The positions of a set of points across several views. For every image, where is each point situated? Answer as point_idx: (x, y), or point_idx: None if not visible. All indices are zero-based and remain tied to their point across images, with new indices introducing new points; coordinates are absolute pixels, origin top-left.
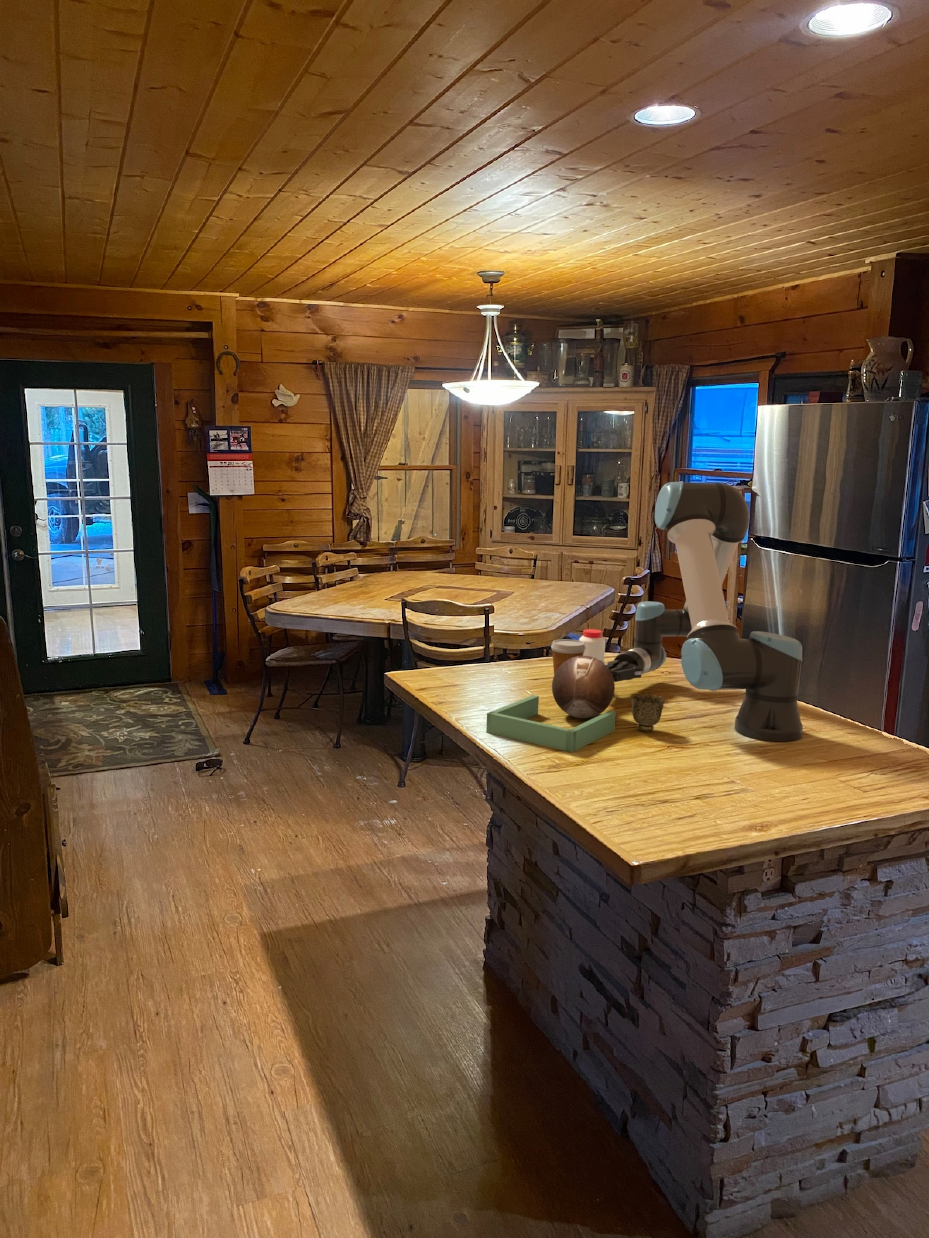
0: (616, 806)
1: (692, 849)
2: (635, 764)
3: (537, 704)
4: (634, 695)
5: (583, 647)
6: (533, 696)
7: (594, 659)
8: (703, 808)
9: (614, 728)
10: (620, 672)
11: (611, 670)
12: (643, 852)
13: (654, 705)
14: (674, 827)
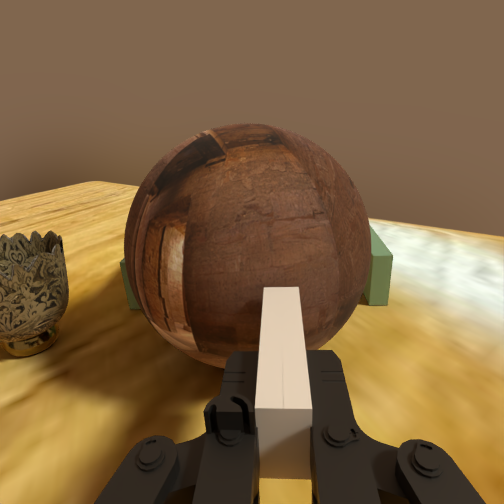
0: (107, 198)
1: (48, 191)
2: (83, 238)
3: (369, 275)
4: (47, 255)
5: None
6: (381, 250)
7: (197, 134)
8: (15, 214)
9: (129, 304)
10: (101, 497)
11: (214, 486)
12: (86, 184)
13: None
14: (56, 197)
